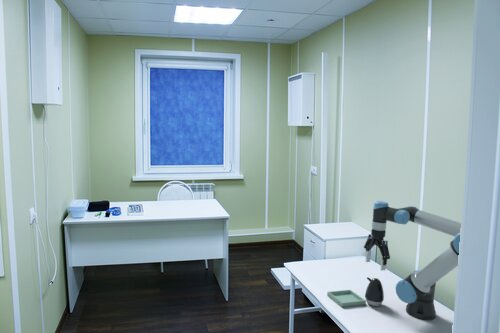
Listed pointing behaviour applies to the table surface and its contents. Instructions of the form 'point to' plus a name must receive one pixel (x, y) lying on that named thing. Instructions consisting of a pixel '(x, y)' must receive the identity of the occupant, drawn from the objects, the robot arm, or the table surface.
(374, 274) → the table surface
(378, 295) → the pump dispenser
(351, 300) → the tray
